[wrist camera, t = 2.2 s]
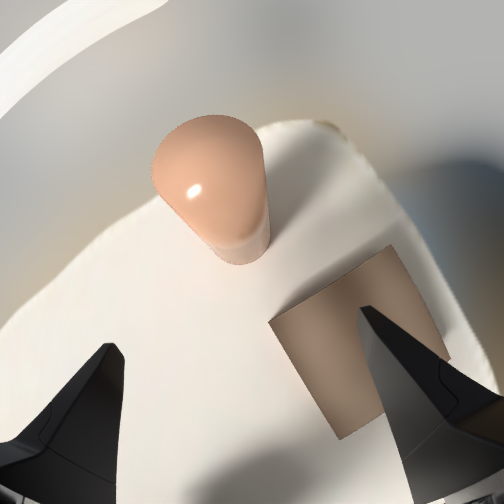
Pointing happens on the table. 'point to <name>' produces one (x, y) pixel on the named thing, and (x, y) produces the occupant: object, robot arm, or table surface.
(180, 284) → the table surface
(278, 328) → the walnut plinth
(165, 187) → the peach dome-topped cylinder
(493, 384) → the table surface
